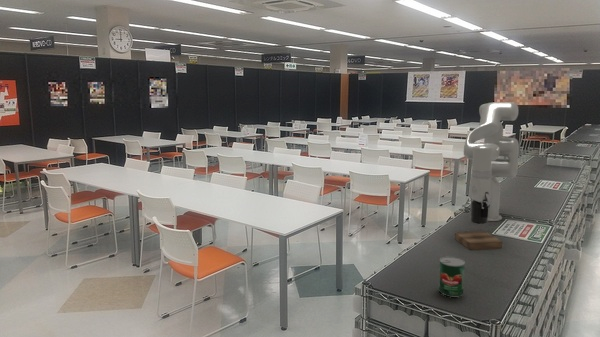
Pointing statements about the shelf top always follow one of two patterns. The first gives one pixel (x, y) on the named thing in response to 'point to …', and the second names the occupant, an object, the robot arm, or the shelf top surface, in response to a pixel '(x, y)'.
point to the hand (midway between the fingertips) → (479, 214)
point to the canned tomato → (451, 276)
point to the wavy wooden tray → (478, 240)
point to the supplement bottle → (477, 213)
